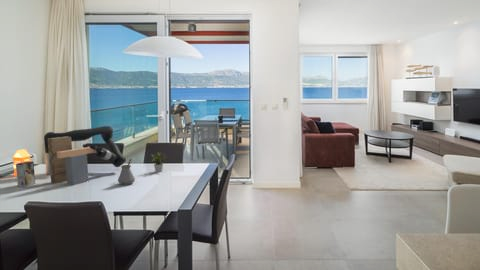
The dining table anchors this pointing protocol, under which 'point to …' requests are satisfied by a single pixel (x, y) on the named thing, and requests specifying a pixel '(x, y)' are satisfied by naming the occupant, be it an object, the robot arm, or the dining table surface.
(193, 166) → the dining table surface
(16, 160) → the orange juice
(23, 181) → the coffee box
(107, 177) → the dining table surface
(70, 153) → the block
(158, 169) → the house plant
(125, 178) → the coffee pot
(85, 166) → the pedestal
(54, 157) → the stand
